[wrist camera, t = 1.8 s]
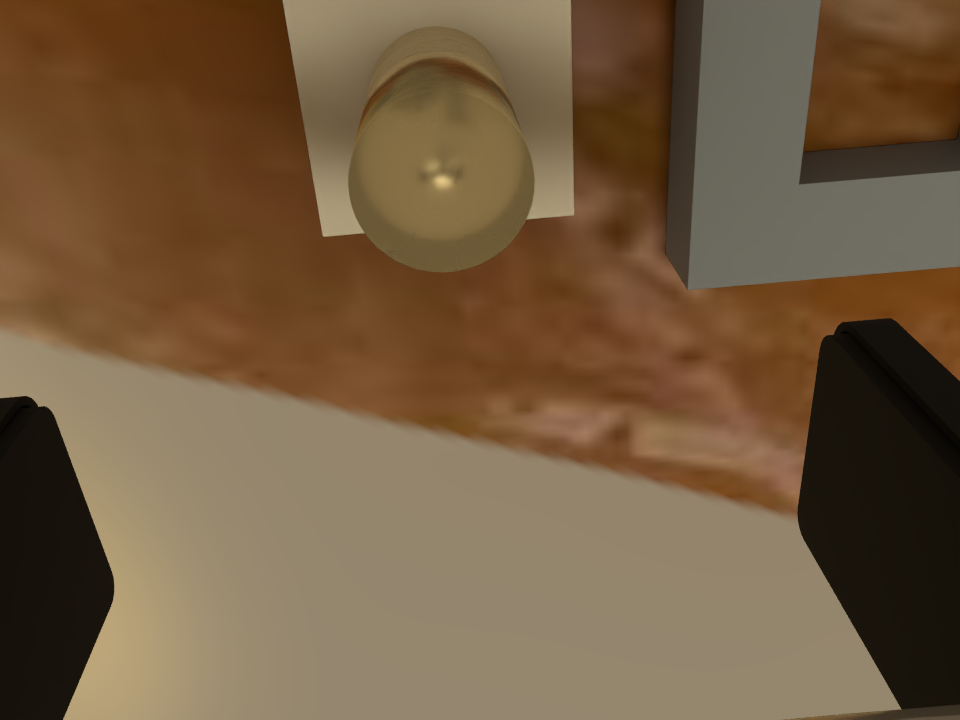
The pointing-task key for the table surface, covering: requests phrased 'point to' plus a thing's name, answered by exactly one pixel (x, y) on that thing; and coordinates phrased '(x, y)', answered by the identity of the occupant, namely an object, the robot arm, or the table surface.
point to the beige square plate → (406, 7)
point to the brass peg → (439, 154)
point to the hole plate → (787, 163)
